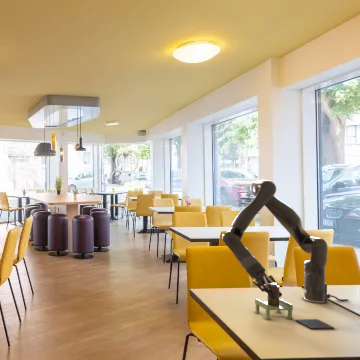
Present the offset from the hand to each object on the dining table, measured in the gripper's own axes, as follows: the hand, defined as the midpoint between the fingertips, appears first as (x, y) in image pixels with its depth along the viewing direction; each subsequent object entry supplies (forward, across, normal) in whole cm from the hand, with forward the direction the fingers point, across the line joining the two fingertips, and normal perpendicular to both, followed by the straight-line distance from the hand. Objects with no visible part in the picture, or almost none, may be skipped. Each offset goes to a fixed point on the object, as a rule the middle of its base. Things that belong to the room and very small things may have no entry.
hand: (277, 297), depth 179 cm
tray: (+5, 0, +8) cm, 9 cm away
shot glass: (0, +15, +13) cm, 20 cm away
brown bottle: (+2, 0, +4) cm, 4 cm away
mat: (+16, +3, -4) cm, 17 cm away
